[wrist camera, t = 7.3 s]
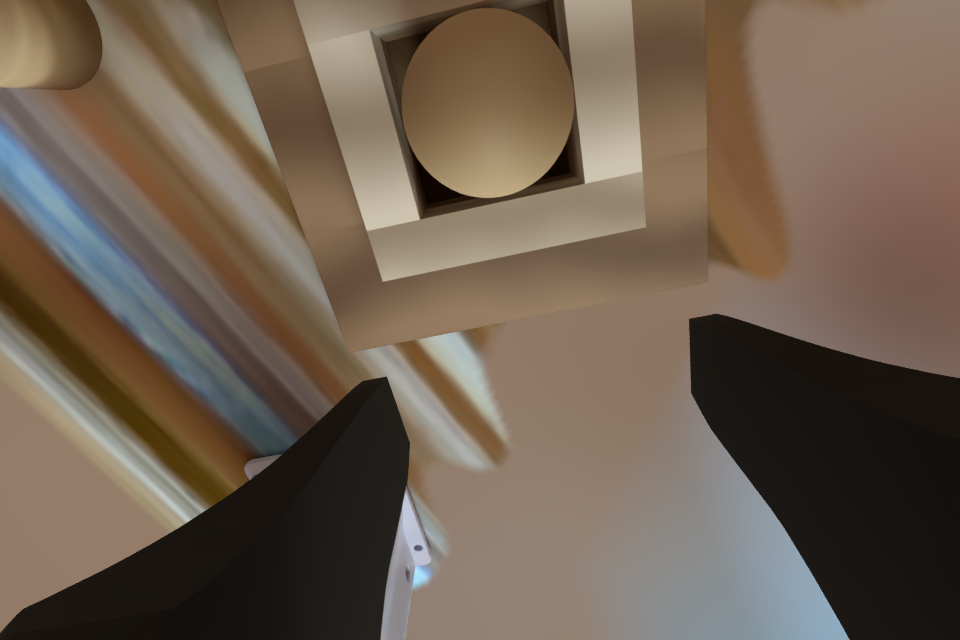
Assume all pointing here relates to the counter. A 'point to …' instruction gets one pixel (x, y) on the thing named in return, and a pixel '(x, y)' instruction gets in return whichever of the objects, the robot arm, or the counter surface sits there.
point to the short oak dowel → (48, 44)
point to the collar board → (473, 220)
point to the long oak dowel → (487, 102)
